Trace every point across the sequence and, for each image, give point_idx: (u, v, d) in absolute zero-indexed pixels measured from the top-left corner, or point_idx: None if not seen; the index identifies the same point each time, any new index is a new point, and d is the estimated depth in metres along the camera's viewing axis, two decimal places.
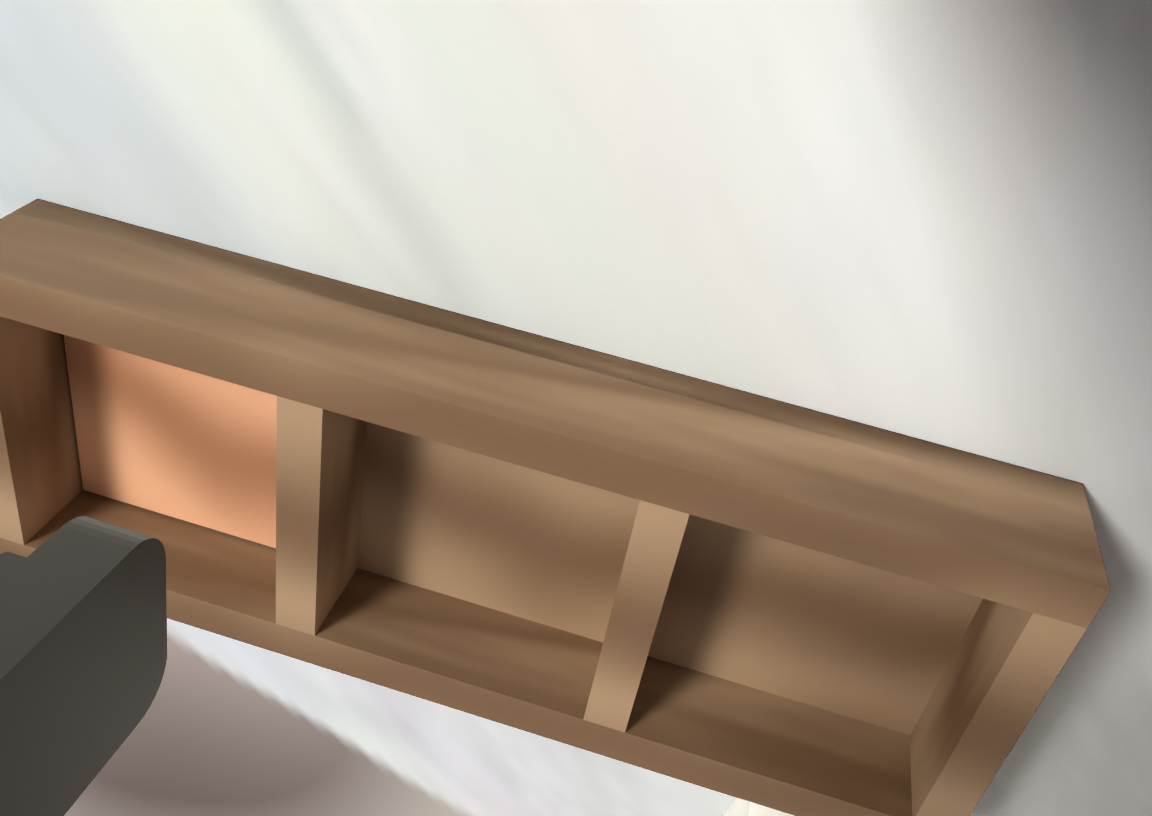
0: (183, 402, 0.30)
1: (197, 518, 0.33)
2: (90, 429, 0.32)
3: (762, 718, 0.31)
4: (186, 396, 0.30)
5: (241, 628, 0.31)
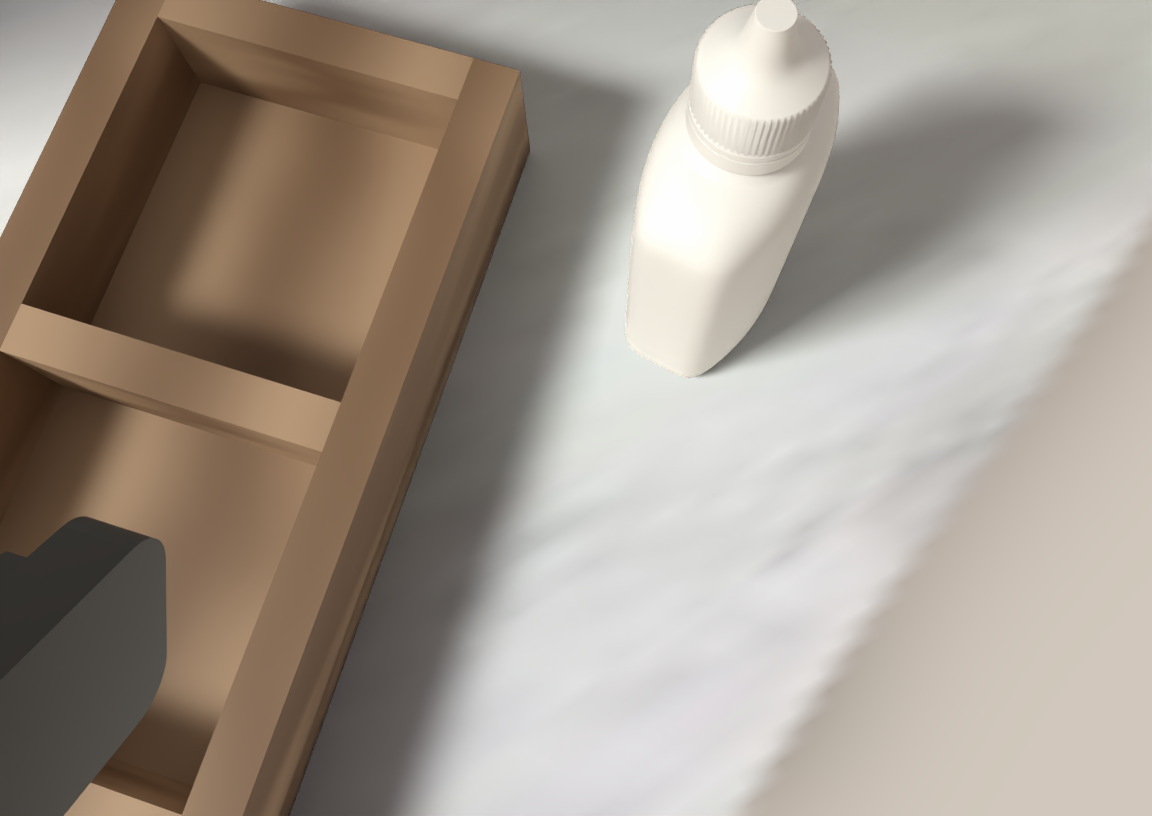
0: None
1: None
2: None
3: None
4: None
5: None
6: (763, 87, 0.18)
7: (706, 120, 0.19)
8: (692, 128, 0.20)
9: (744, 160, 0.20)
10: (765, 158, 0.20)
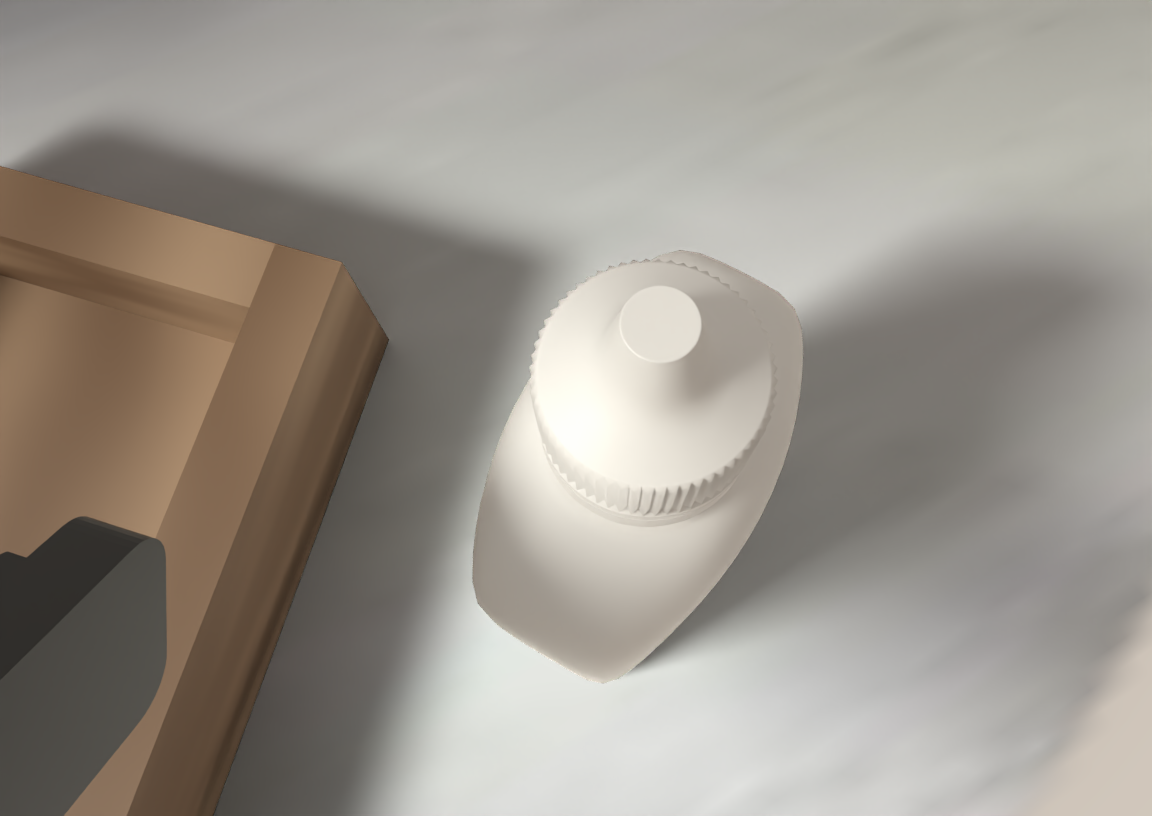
0: None
1: None
2: None
3: None
4: None
5: None
6: (648, 432, 0.10)
7: None
8: (545, 452, 0.12)
9: (633, 514, 0.11)
10: (667, 514, 0.11)
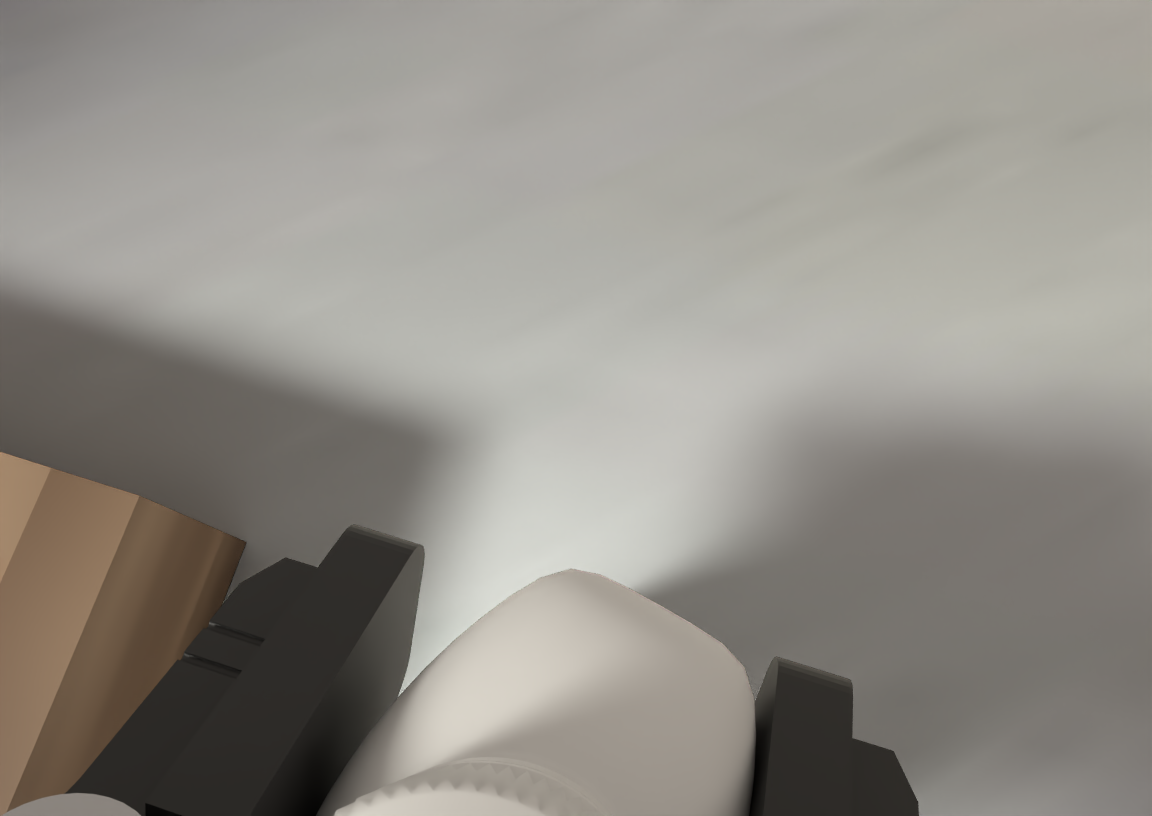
0: None
1: None
2: None
3: None
4: None
5: None
6: None
7: None
8: None
9: None
10: None
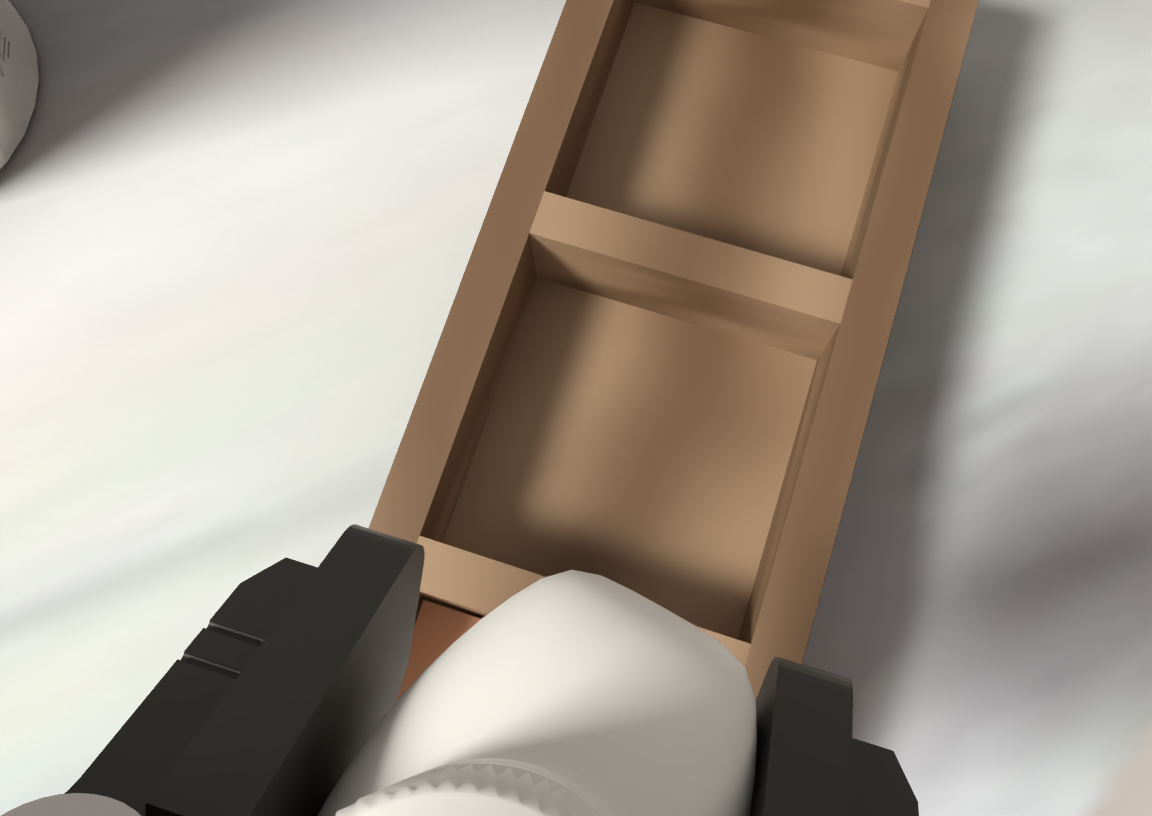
0: None
1: None
2: None
3: (870, 184, 0.29)
4: None
5: None
6: None
7: None
8: None
9: None
10: None
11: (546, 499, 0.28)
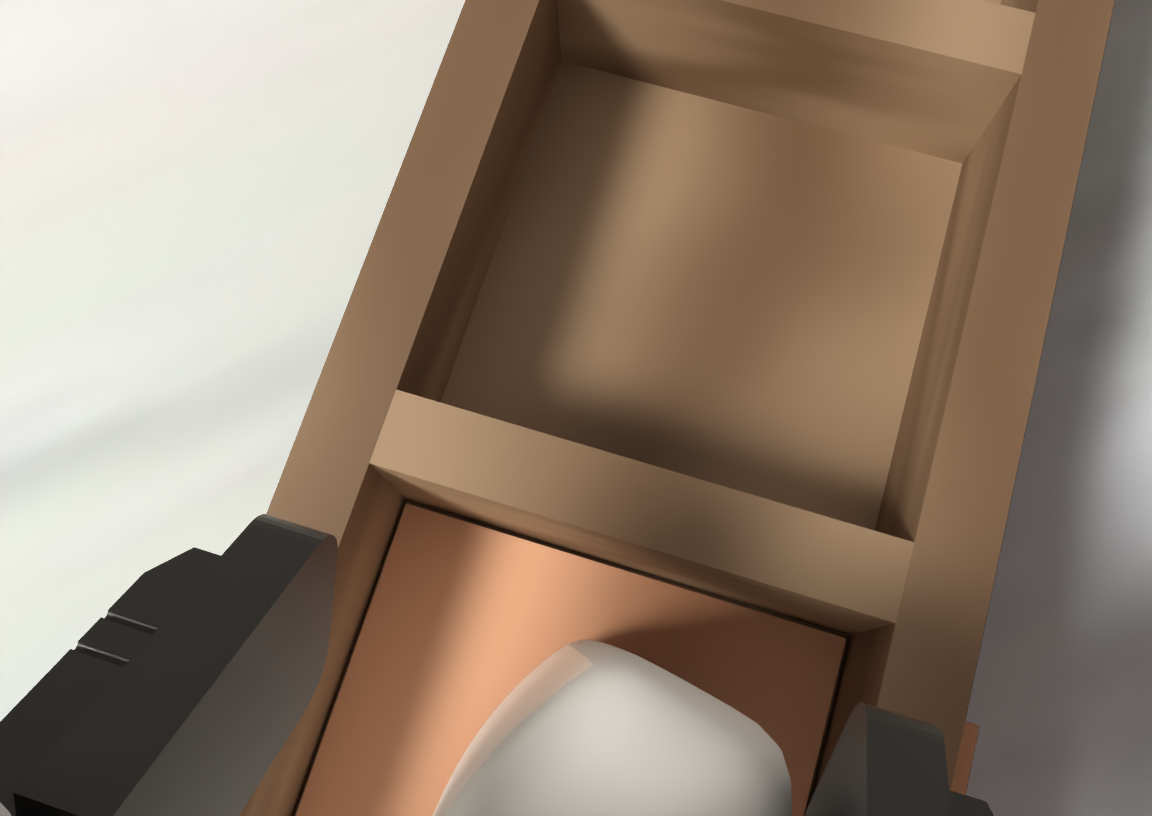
0: None
1: None
2: None
3: None
4: None
5: (924, 712, 0.15)
6: None
7: None
8: None
9: None
10: None
11: (582, 361, 0.19)
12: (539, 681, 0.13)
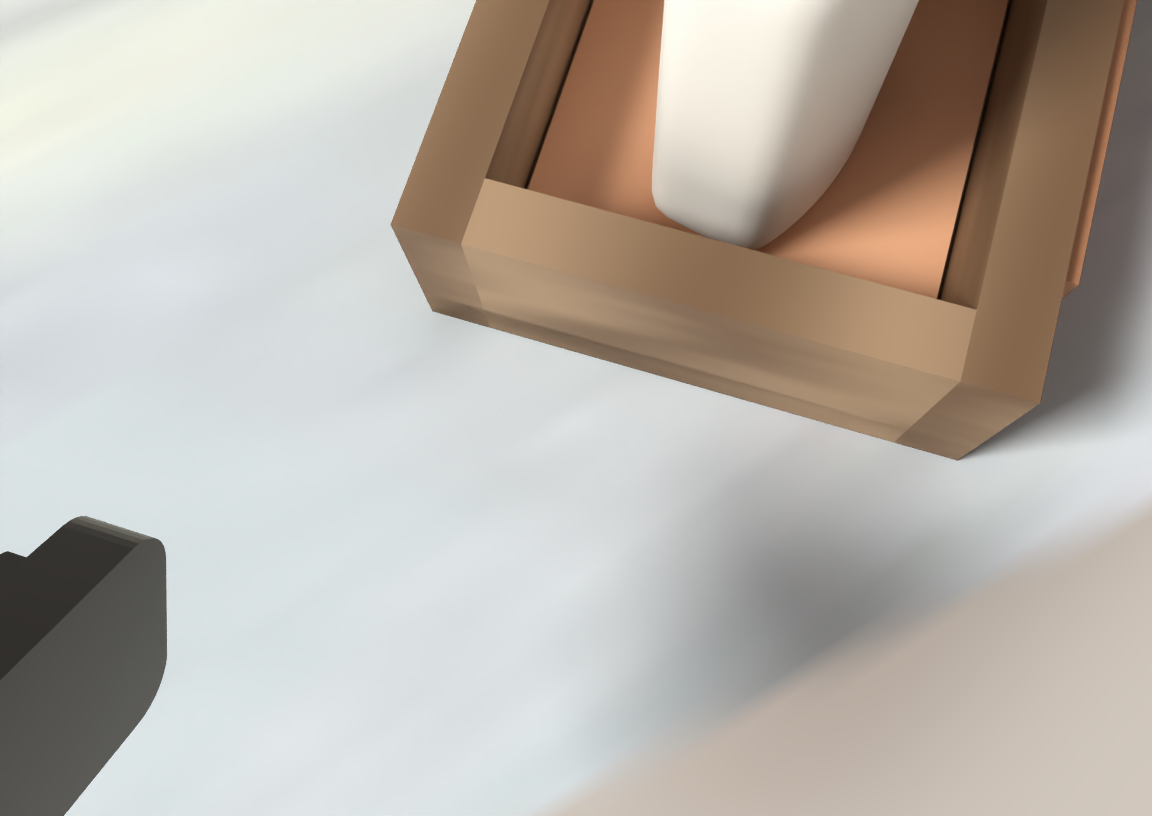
0: None
1: (955, 161, 0.20)
2: None
3: None
4: None
5: None
6: None
7: None
8: None
9: None
10: None
11: None
12: None
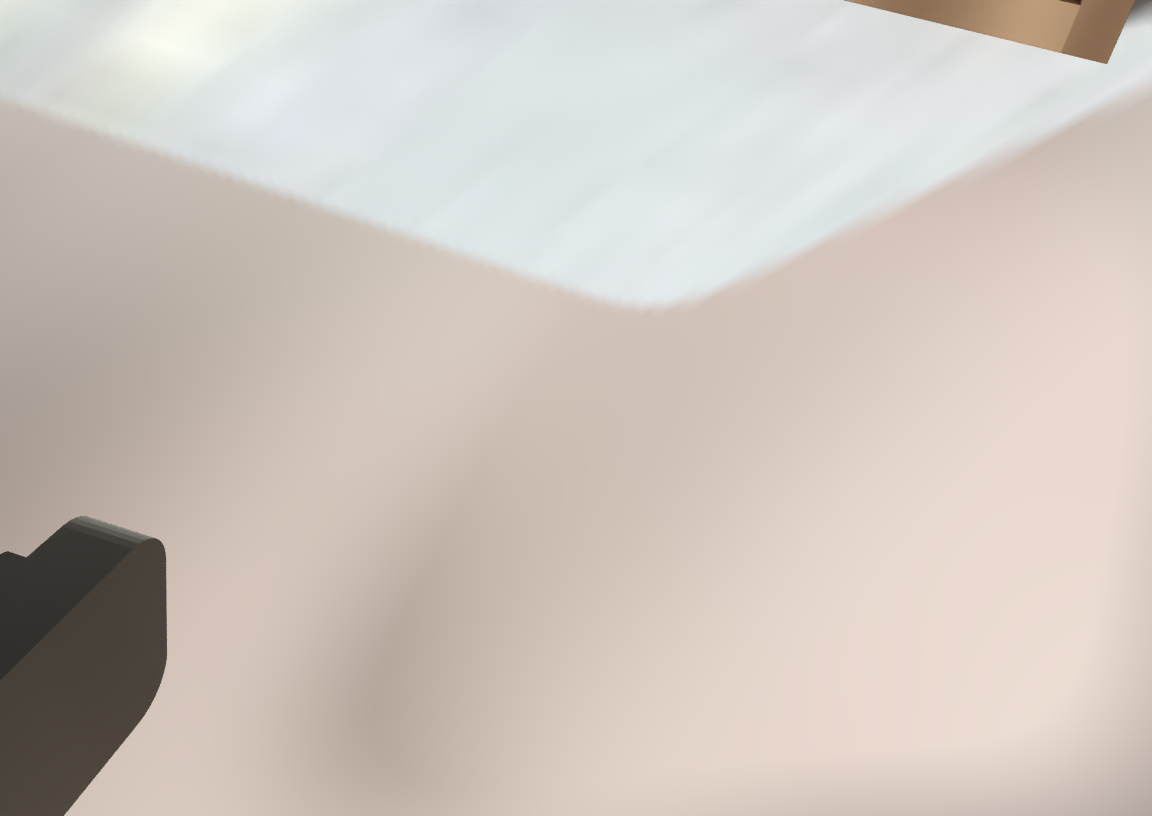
0: None
1: None
2: None
3: None
4: None
5: None
6: None
7: None
8: None
9: None
10: None
11: None
12: None
